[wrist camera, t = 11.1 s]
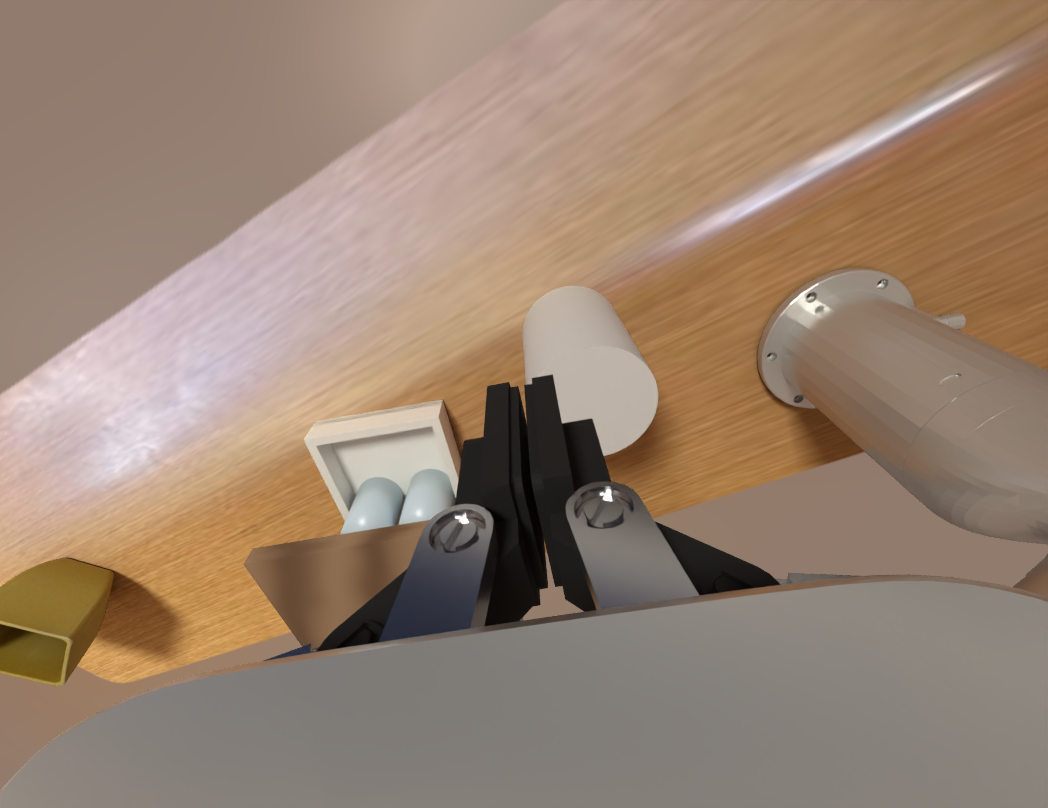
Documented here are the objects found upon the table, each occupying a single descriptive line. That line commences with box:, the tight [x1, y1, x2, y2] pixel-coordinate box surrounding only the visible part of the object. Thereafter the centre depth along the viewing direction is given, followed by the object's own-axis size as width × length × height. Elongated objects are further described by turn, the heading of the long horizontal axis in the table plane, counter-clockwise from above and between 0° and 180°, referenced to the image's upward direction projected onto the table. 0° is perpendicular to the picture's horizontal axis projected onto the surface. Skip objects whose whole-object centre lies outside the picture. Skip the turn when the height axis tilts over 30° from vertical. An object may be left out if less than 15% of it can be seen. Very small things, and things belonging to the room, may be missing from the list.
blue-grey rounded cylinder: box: [340, 477, 403, 534], centre depth 44 cm, size 4×4×6 cm
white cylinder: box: [523, 286, 658, 456], centre depth 35 cm, size 8×8×12 cm
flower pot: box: [0, 558, 114, 686], centre depth 49 cm, size 9×9×9 cm
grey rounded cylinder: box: [399, 469, 454, 525], centre depth 44 cm, size 4×4×6 cm
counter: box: [244, 520, 430, 648], centre depth 43 cm, size 18×14×12 cm
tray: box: [304, 399, 461, 525], centre depth 46 cm, size 12×16×3 cm
